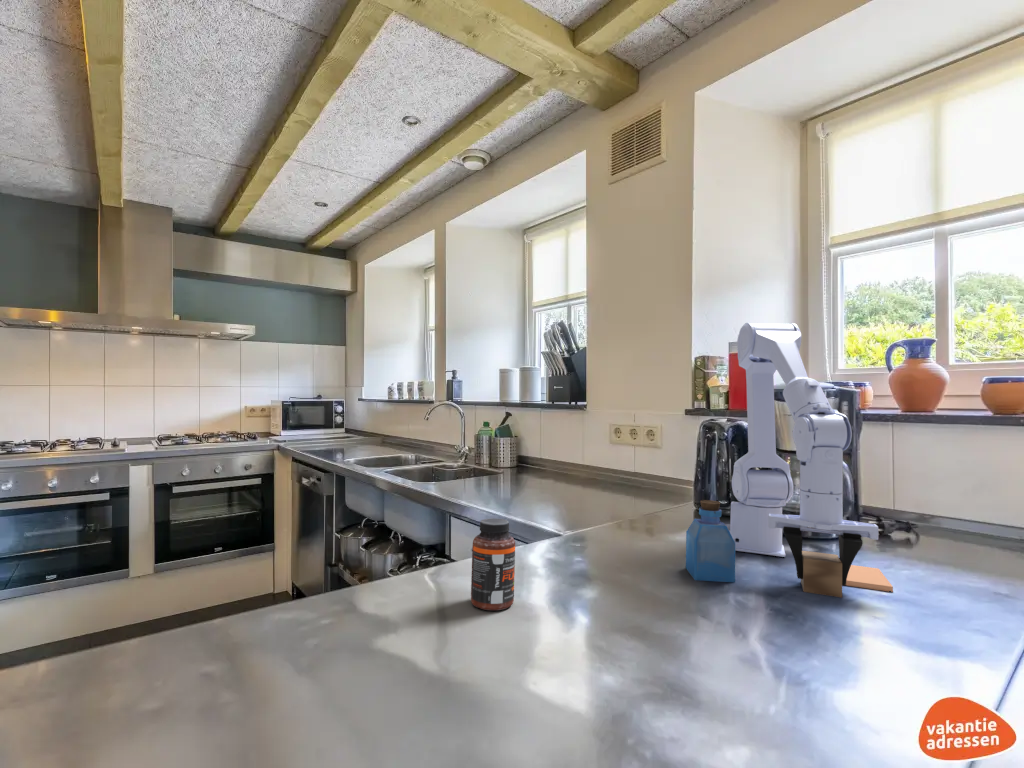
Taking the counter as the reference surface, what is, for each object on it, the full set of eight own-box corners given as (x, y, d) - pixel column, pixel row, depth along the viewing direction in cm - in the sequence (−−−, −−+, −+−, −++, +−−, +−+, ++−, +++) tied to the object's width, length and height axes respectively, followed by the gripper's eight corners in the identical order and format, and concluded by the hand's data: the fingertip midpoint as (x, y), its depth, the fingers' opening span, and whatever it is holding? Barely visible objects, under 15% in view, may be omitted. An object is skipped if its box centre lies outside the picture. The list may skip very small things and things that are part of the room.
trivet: (817, 581, 85) (817, 576, 85) (811, 564, 94) (811, 559, 94) (892, 592, 80) (892, 586, 80) (878, 573, 89) (878, 568, 90)
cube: (803, 591, 80) (803, 558, 80) (800, 581, 84) (801, 550, 84) (842, 597, 78) (842, 563, 78) (837, 587, 82) (837, 554, 82)
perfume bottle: (723, 570, 89) (723, 499, 90) (734, 582, 83) (735, 506, 84) (685, 568, 90) (686, 497, 90) (694, 580, 84) (695, 504, 84)
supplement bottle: (509, 614, 69) (511, 527, 69) (465, 610, 70) (467, 524, 70) (517, 598, 74) (519, 517, 75) (477, 594, 76) (479, 515, 76)
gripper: (769, 490, 81) (769, 579, 80) (883, 500, 75) (883, 596, 74) (768, 484, 87) (767, 567, 87) (872, 492, 81) (872, 581, 81)
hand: (820, 580), depth 81 cm, fingers closed on cube, 5 cm apart
